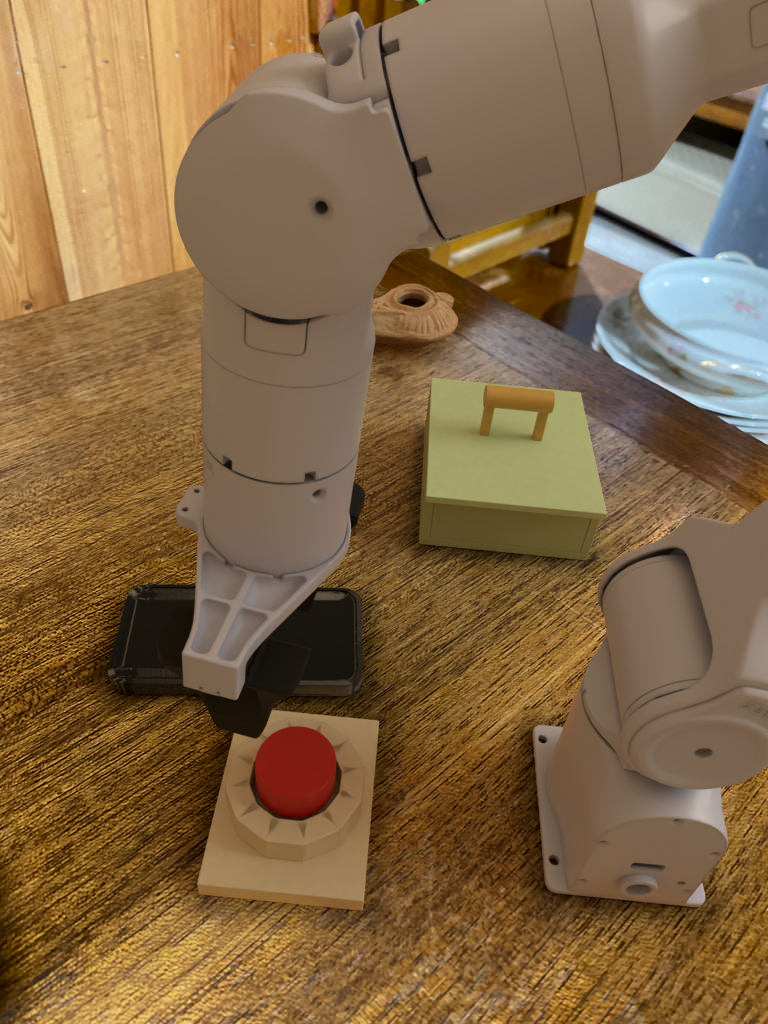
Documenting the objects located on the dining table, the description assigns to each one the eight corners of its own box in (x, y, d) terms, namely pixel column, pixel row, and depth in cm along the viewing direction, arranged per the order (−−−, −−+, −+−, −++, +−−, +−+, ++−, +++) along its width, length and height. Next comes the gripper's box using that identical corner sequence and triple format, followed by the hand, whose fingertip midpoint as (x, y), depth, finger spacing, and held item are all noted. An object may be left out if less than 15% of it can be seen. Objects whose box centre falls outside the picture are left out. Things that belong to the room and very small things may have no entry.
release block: (362, 911, 38) (365, 885, 36) (198, 894, 38) (192, 867, 36) (377, 731, 45) (381, 701, 43) (241, 717, 45) (238, 687, 43)
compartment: (587, 560, 57) (603, 513, 54) (418, 544, 57) (425, 495, 54) (566, 443, 68) (578, 398, 65) (424, 429, 68) (430, 384, 65)
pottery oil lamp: (317, 326, 79) (337, 256, 78) (422, 357, 84) (443, 293, 82) (339, 339, 72) (362, 262, 70) (452, 373, 76) (477, 302, 74)
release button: (330, 822, 38) (331, 802, 37) (249, 814, 38) (247, 794, 37) (339, 750, 41) (340, 729, 40) (264, 742, 41) (263, 721, 40)
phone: (130, 583, 51) (360, 587, 52) (133, 595, 51) (360, 599, 53) (102, 684, 45) (363, 686, 46) (106, 696, 46) (362, 698, 47)
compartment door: (605, 520, 53) (624, 466, 50) (425, 502, 53) (432, 447, 50) (579, 398, 65) (593, 347, 62) (430, 383, 65) (437, 332, 62)
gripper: (244, 320, 34) (238, 540, 43) (80, 538, 23) (118, 770, 32) (400, 357, 34) (361, 571, 43) (307, 597, 23) (281, 815, 32)
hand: (266, 660), depth 38 cm, fingers open, 7 cm apart
